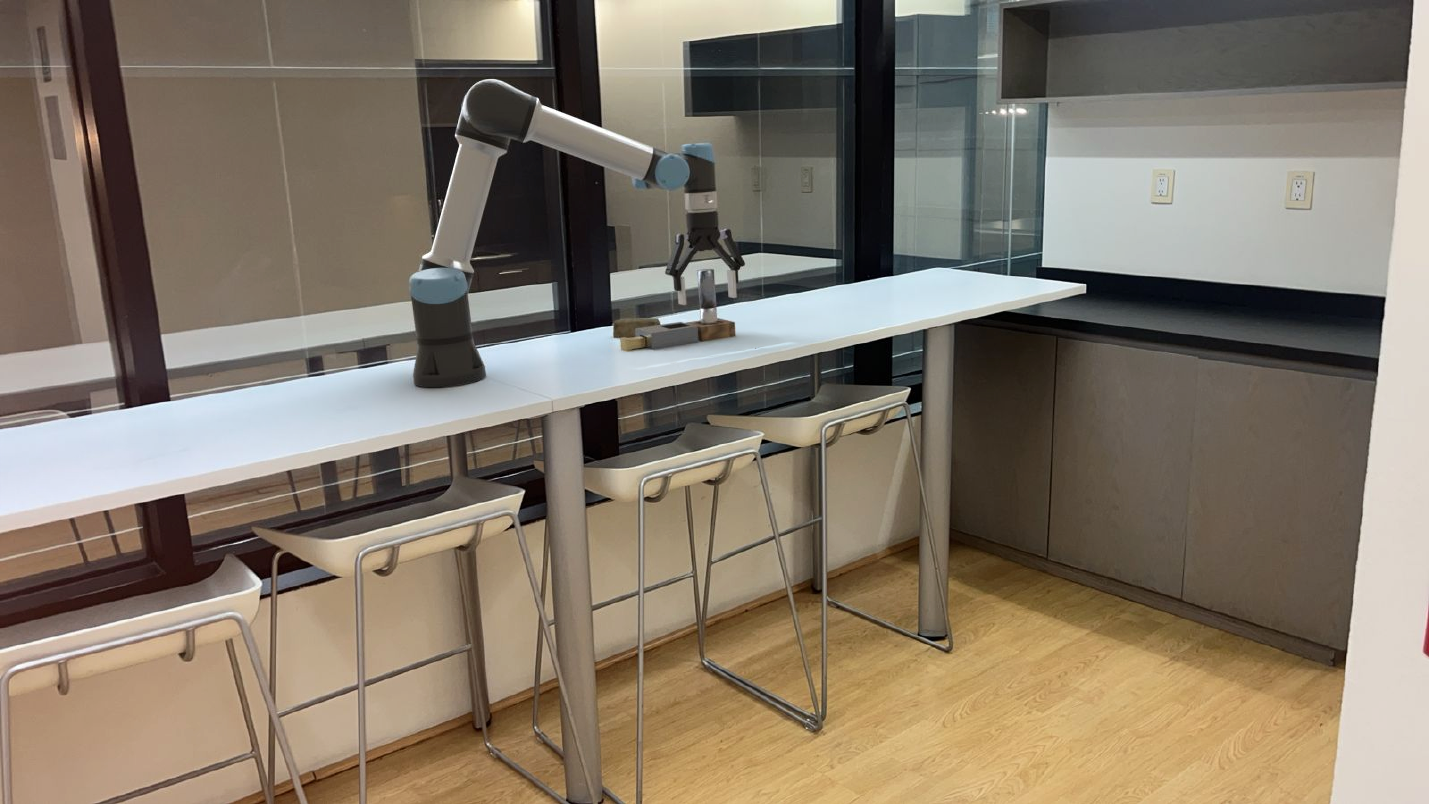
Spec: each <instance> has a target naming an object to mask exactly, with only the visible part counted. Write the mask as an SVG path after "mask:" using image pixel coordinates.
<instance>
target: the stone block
mask: <svg viewBox="0 0 1429 804" xmlns="http://www.w3.org/2000/svg"><path fill="white" fill-rule="evenodd" d="M656 325H661V321H660V320H659V318H658V317H657V318H655V317H650V318H649V317H640V318H639V317H634V318H633V317H632V318H631V317H630V318H629V317H628V318H620V319H617V320H614V321H613V324H612V326H613V329H612V336H613V338H615V339H617V338H619V339H620V338H623V337H626V338H633V337H636V334H635V329H636V328H643V327H649V326H656Z"/></svg>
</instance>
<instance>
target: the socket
mask: <svg viewBox="0 0 1429 804" xmlns="http://www.w3.org/2000/svg"><path fill="white" fill-rule="evenodd" d="M635 334H636V337H639V336H646V338H647V347H646V348H647V349H649V350H652V351H653V350H659V349H666V348H673V347H677V346H679V347H680V346H685V345H690V344H697V343H699V342H700V341H698V326H695V325H691V324H687V323H686V322H683V321H679V322H678V321H676V322H670V323H664V324H660V325H656V326H649V327H643V328H636V329H635Z"/></svg>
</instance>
